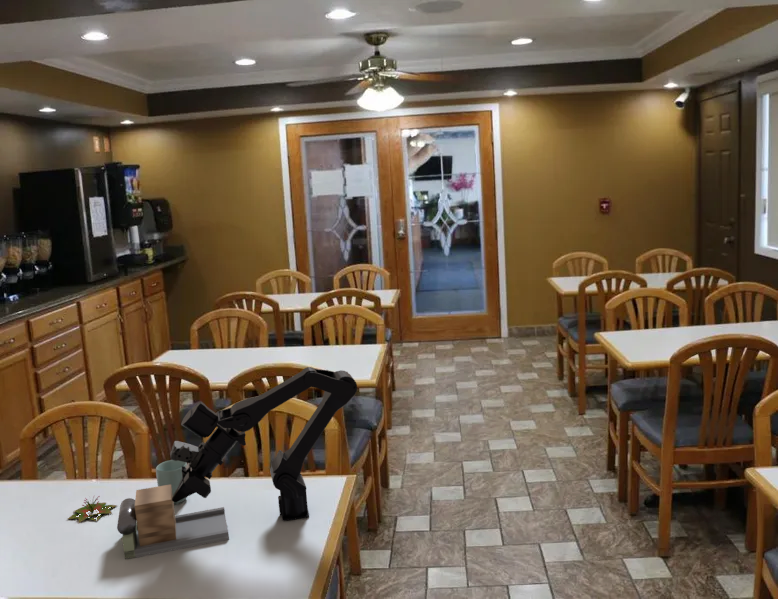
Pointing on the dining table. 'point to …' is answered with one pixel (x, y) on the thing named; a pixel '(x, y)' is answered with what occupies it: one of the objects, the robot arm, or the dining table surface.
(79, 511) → the lily flower
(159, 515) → the brown wooden block
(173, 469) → the cup
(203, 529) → the bay
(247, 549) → the dining table surface
